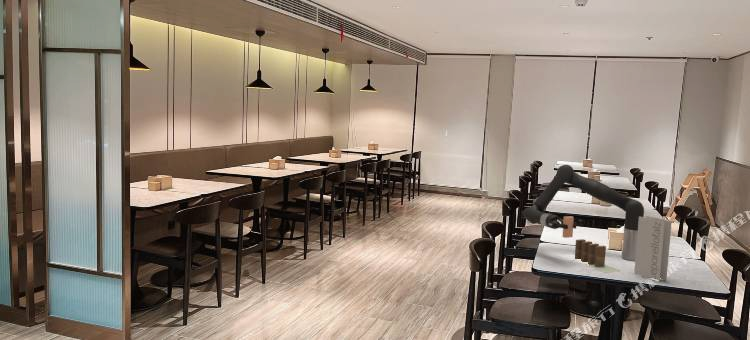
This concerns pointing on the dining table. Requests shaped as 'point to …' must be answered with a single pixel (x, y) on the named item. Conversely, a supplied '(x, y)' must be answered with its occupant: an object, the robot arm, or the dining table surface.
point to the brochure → (652, 247)
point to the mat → (605, 269)
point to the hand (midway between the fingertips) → (571, 227)
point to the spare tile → (569, 231)
